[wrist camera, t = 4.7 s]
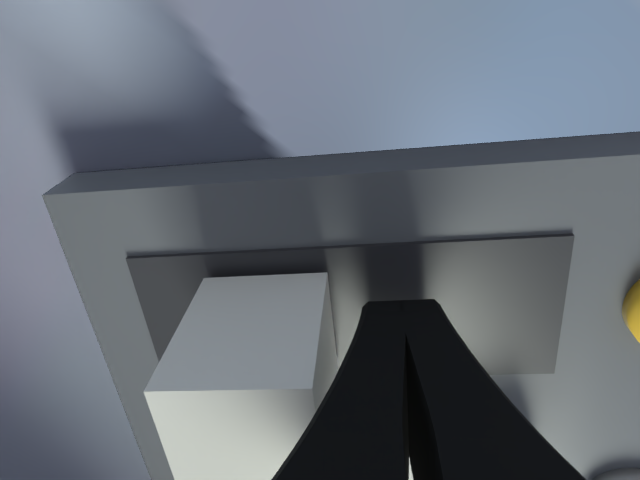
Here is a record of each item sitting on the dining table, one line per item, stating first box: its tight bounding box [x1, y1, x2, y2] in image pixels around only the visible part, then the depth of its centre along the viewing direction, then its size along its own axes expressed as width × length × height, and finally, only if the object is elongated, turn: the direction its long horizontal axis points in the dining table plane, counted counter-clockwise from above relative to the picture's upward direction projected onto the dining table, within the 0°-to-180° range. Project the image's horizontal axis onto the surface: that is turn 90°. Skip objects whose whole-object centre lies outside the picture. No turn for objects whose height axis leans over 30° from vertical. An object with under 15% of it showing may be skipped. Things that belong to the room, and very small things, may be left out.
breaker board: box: [42, 132, 640, 480], centre depth 12 cm, size 13×11×2 cm
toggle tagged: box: [144, 272, 338, 480], centre depth 9 cm, size 2×2×3 cm
